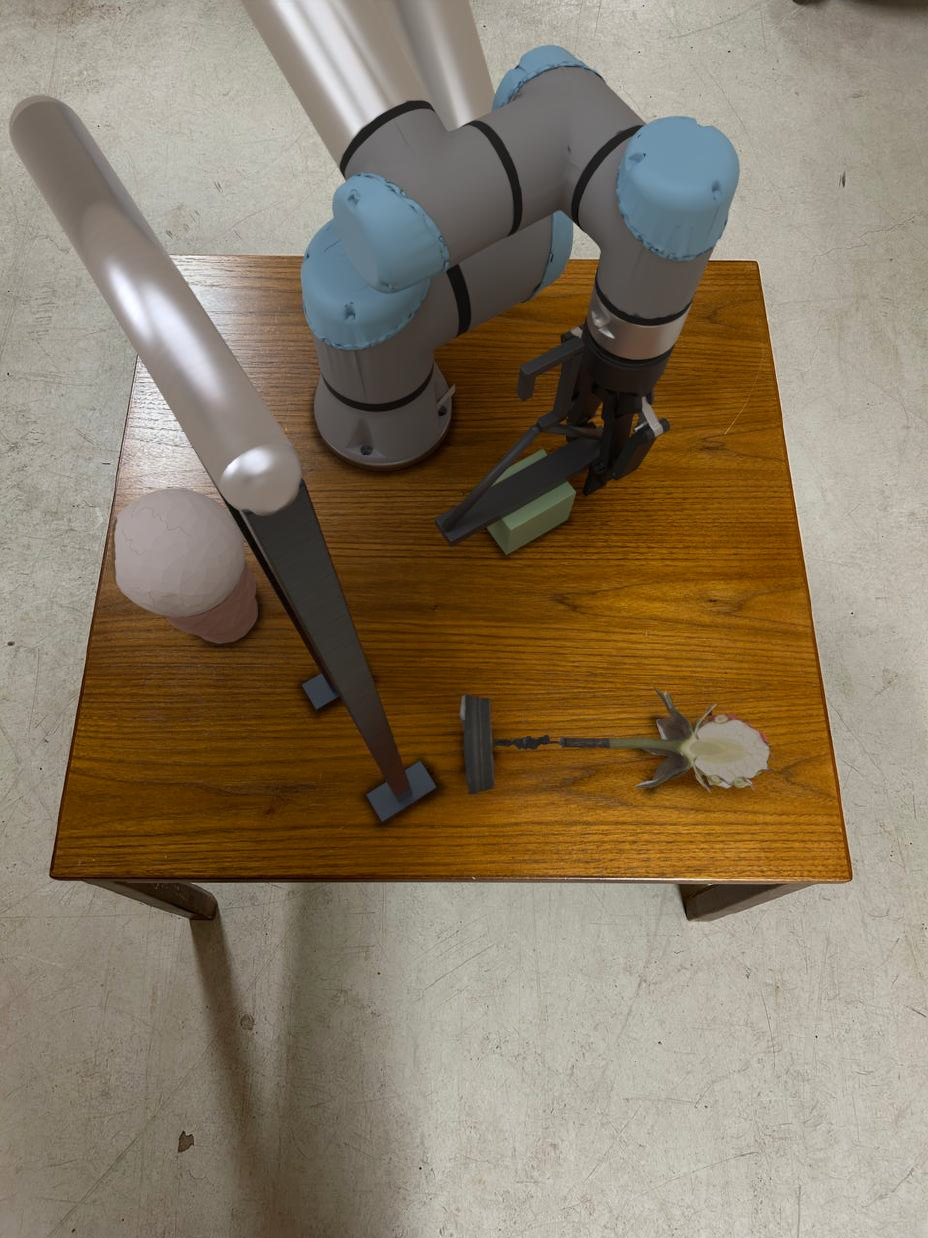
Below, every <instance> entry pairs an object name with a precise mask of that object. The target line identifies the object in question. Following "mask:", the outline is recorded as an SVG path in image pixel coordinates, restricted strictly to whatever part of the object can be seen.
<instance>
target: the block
mask: <svg viewBox="0 0 928 1238" xmlns="http://www.w3.org/2000/svg"><path fill="white" fill-rule="evenodd" d="M547 455H548V454H547V452H546V451H545V450H544V448H542V449H539V450H538V451H536V452H535V453H533V454H531V455H529V456H527V457H525V458H524V459H522V460H519V461H518V462H516V463H515V464H512V465H510V466H509V468H508V469H507V470H506V471H505V472H504V473H503V474H502V475H501V476H500V477H499V478H498V479H497V480H496V482H495V483H494V484H493V485H495V484H497V483H498V482H500V481H502V480H504V479H506V478H507V477H509V476H511V475H513V474H515V473H516V472H518V471H520V470H522V469H524V468H525V467H527V466H529V465H531V464H532V463H534V462H536V461H538V460H540V459H541V458H543V457H545V456H547ZM493 485H492V486H493ZM576 495H577V492H576V490H575V489H574V487H573V486H572V485H571V484H570V482H569V481H567V482H565V483H564V484H562V485H560V486H558V487H557V488H555V489H553V490H551V491H550V492H548V493H546V494H544V495H543V496H541V497H539V498H537V499H536V500H534V501H532V502H530V503H529V504H527V505H525V506H523V507H522V508H520V509H518V510H516V511H515V512H513V513H511V514H509V515H508V516H506V517H504V518H502V519H501V520H499V521H497V522H495V523H494V524H492V525H490V526H488V527H487V528H486V529H487V531H488V532H489V533H490V535H491V536H492V537H493V539H494V540H495V542H496V543H497V544H498V546H499V547H500V549H501V550H502V552H503V553H504V554H505V555H506V556H509V554H511V553H513V552H515V551H517V550H518V549H520V548H521V547H523V546H525V545H526V544H529V543H530V542H532V541H533V540H536V539H537V538H539V537H540V536H542V535H544V534H546V533H548V532H549V531H550V530H553V529H554V528H555V527H557V526H560V525H561V524H562V523H564V522H566V521H568V520H569V517H570V514H571V510H572V507H573V504H574V501H575V497H576Z"/></svg>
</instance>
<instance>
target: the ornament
mask: <svg viewBox="0 0 928 1238" xmlns="http://www.w3.org/2000/svg"><path fill="white" fill-rule="evenodd" d="M652 686H653V689H654V691H655V692H656V694H657V695H658V696H659V698H660V699H661V702H662V704H663V705H664V706H665V709H666V711H667V713H668V715H669V716H670V717H665V718H662V719H659V718H658V719H656V726H657V729H658V733H659V734H660V737H661V738H654V737H631V736H630V737H601V738H600V737H597V738H595V737H564V736H563V735H562V736H560V739H559V740H551V738H550V736H549V734H544V735H543V736H539V737H538V738H533V737H532V735H526V736H523V737H521V738H514V739H508V738H505V739H499V740H493V730H492V712H491V711H492V709H491V708H492V706H491V698H490V697H480V696H477V695H471V694H464V695H461V701H460V711H459V720H460V722H461V725H462V728H463V734H464V736H463V745H462V747H463V756H464V765H465V773H464V776H465V780H466V785H467V790H468V794H469V795H470V796H472V795H477V794H480V793H483V792H486V791H489V790H491V791H492V790H494V789H495V786H496V785H495V780H496V776H495V767H494V764H495V760H494V754H493V749H494V748H496V747H507V748H509V747H511V746H515V747H516V749H517V750H525V751H527V750H528V749H530V750H532V751H534V750H538V748H539V747H540V746H541V745H542V746H545V745H553V744H554V745H555V744H556V745H559V746H561V748H562V749H567V748H568V749H572V748H573V749H574V748H575V749H596V748H600V749H640V750H643V751H645V752H647V753H650V754H652V755H656V756H662V757H663V756H664V757H666V758H665V759H663V760H662V761H661V763H660V764H659V765H658V766H657V769H656V770H655V773H654V775H653V776H652V780H646V781H643V782H640V783H637V784H636V785H635V789H645V788H646V789H647V788H648V789H649V788H650V789H651V788H654V787H657V786H659V785H660V784H662V783H664V782H667V781H670V780H672V779H674V778H677V777H680V776H682V775H684V774H685V773H687V772H688V771H689V770H691V768H692V770H693V773H695V774H694V776H695V778H696V781H698V782H699V784H701V786H702V787H703V788H705V789H706V790H707V791H708V793H709V794H713V791H711V790H710V788H713V786H718V787H722V788H724V789H726V790H727V789H729V788H732V787H733V786H735V787H736V788H737V789H742V788H746V787H748V786H750V787H751V789H752V792H755V789H754V786H753V782H752V781H751V780H749V779H753V778H754V777H759V776H760V775H761V774H762V772H765V771H766V772H767V771H773V770H775V768H773V767H772V768H768V765H769V763H770V762H769V757H770V758H771V759H772V760H773V761H775V758H774V756H773V755H770V754H771V752H770V751H771V748H770V743H769V742H768V741H769V740H768V737H767V736H766V734H765V733H764V732H760V731H759V730H758V729H757V728H753V727H752V726H751V725H752V722H748V721H745V720H740V719H739V716H737V715H736V714H734V713H730V714H727V715H726V714H725V713H718V714H716V715H715V716H713V710H714V708H715V707H716V706H717V705H718V702H716V703H714V704H713V705H712V703H710V704H708V705H707V706H706V708H705V710H707V711H706V712H704V715H703V716H702V717H701V716H699V717H698V718H696V719H695V722H694V724H693V726H692V724H691V721H690V719H688V718H687V717H686V716H685V715H684V714H683V713H682V712H680V711H679V710H678V709H677V708H676V706H675V704H674V702H673V698H672V695H671V693H670V692H668V691H665V692H662V691H661V690H660V689H658V688H657V687H656V686H654V685H652ZM711 705H712V706H711ZM710 706H711V707H710ZM708 709H709V710H708ZM706 717H707V719H705V718H706ZM543 749H544V751H545V750H546V749H545V748H543ZM702 776H706V779H707V782H706V781H705V779H704V778H703V777H702Z"/></svg>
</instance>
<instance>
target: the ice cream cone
mask: <svg viewBox="0 0 928 1238" xmlns="http://www.w3.org/2000/svg"><path fill="white" fill-rule="evenodd" d="M111 533H112V534H111V540H110V542H111V543H110V546H111V552H110V553H111V562H110V566H111V567H112V577H113V580H114V582H115V584H116V586H117V587H118V589H119V590H120V592H121V593H122V594H123V595H125V596H126V597H127V598H128V599H129V600H130V601H131V602H133V603H134V604H135V605H137V606H139V607H141V608H142V609H144V610H146V611H149V612H151V613H153V614H155V615H158V616H162V617H164V618H165V619H166V620H167V621H168V623H169V624H171V626H174V628H176V629H178V630H180V631H182V632H184V633H187V634H189V635H193V636H198V637H200V638H202V640H205V641H207V642H211V643H214V644H218V645H221V644H228V643H234V642H236V641H238V640H239V639H242V638H244V637H245V636H246V635H247V634H248V632H249V631H250V630H251V629H252V628H253V627H254V626H255V624H256V621H257V619H258V616H259V613H258V602H257V599H256V595H257V585H256V579H255V575H254V573H253V569H252V568H251V566H250V564H249V563H248V560H247V559H246V548H245V547H246V546H245V541H244V540H245V539H244V537H243V535H242V533H241V532H240V530H239V528H238V526H237V525H236V523H235V521H234V519H233V517H232V516H231V514H230V512H229V511H228V509H227V508H225V507H224V506H223V505H222V504H221V503H219V502H218V501H217V500H216V499H214V498H212V497H210V496H208V495H207V494H204V493H202V492H199V491H196V490H192V489H189V488H188V489H186V488H162V489H157V490H154V491H151V492H147V493H146V494H145V493H144V494H143V495H140V496H139V497H138V498H136V499H135V500H133V501H131V502H130V503H129V504H128V505H127V506H125V507H124V508H123V509H122V510H121V511H119V512H118V514H117V515H116V517H115V520H114V522H113V524H112V527H111Z"/></svg>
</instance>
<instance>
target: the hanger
mask: <svg viewBox="0 0 928 1238" xmlns="http://www.w3.org/2000/svg"><path fill="white" fill-rule="evenodd" d="M584 345H585V344H584V343H583V341H582V340H581V339H580V338H579V337H578V336H576V337H574V338H572V339H570V340H568V341H566V342H565V343H563V344H561V343H560V344H559V345H557V346H555V347H554V348H551V349H549V350H548V351H546V352H544V353H542V354H540V355H538V356H536V357H534V358H532V359H531V360H528V361H527V362H524V363H523V364H520V365H519V370H518V378H517V385H516V393H515V394H516V396H517V397H518V399H519V400H520V401H521V402H522V403H524V402H526V401H528V400H531V398H533V397H534V392H535V386H536V380H537V377H539V376H541V375H543V374H546V373H547V372H549V371H551V370H552V369H554V368H556V367H558V366H561V365H562V369H561V368H560V373H559V378H558V383H557V388H556V392H555V397H554V402H553V407H552V409H551V410H550V411H548V412H547V413H545V414H543V415H541V416H539V417H538V418H536V421H535V424H532V425H531V426H530V427H529V428H528V429H527V430H526V431H525V432H524V433H523V435H521V437H519V439H518V440H517V441H516V442H515V443H514V444H513V445H512V447H511V448H510V449H509V450H508V451H507V452H506V453H505V455H503V456H502V458H500V460H499V461H498V462H497V463H495V465H494V466H493V467H492V468H491V469H490V471H488V473H487V474H486V475H485V476H484V477H483V478H482V479H481V481H480V482H478V484H477V485H476V486H475V487H474V488H473V489H472V490H471V492H469V494H468V495H467V496H465V498H464V499H463V500H462V501H461V502H460V503H459V504H458V505H455V506H454V507H451V508H450V509H449V510H447V511H445V512H443V513H441V514H440V515H438V516H436V517H434V526H435V527H436V529H437V530H438V532H439V533H440V534H441V536H442V537H443V539H444V540H445V541H446V543H447V544H448V546H449V547H450V548H453V547H455V546H457V545H458V544H460V543H462V542H465V540H467V539H469V538H470V537H473V536H475V535H476V534H478V533H480V532H482V531H483V530H485V529H487V527H488V526H490V525H492V524H494V523H495V522H497V521H499V520H501V519H502V518H504V517H506V516H508V515H509V514H511V513H513V512H515V511H516V510H518V509H520V508H522V507H523V506H525V505H527V504H529V503H530V502H532V501H534V500H536V499H537V498H539V497H541V496H543V495H544V494H546V493H548V492H550V491H551V490H553V489H555V488H557V487H558V486H560V485H562V484H564V483H565V482H567V481H568V482H569V481H570V480H572V479H574V478H576V477H578V476H579V475H581V474H583V473H584V472H586V471H589V468H590V465H591V462H592V460H593V459H595V458H596V457H598V456H599V454H600V447H601V440H602V433H603V427H604V426H603V425H602V424H600V425H599V426H597V427H596V428H595V429H591V428H584V427H578V426H572V425H567V423H566V424H565V423H563V422H564V421H565V422H566V419H567V415H568V411H569V407H570V403H571V399H572V395H573V391H574V387H575V383H576V379H577V375H578V371H579V366H580V362H581V358H582V354H583V350H584ZM562 363H563V364H562ZM540 434H549V435H550V434H551V435H556V436H564V437H566V436H571V437H578V438H577V439H576V440H574V441H572V442H570V443H568V442H567V443H566V444H564V445H563V446H561V447H559V448H557V449H555V450H553V451H552V452H551V453H549V454H547V456H545V457H543V458H541V459H540V460H538V461H536V462H534V463H532V464H531V465H529V466H527V467H525V468H524V469H522V470H520V471H518V472H516V473H515V474H513V475H511V476H509V477H507V478H506V479H504V480H502V481H500V482H498V483H497V484H495V485H493V484H494V483H495V482H496V480H497V479H498V478H499V477H500V476H501V475H502V474H503V473H504V472H505V471H506V470H507V469H508V468H509V467H511V466H512V465H513V464H514V463H515V461H516V460H517V459H518V458H519V457H520V456H521V455H522V454H523V453H524V451H526V450H527V448H528V447H529V446H530V445H531V444H532V443H533V442H534V441H535V440H536V439H537V437H539V435H540ZM492 485H493V486H492Z"/></svg>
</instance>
